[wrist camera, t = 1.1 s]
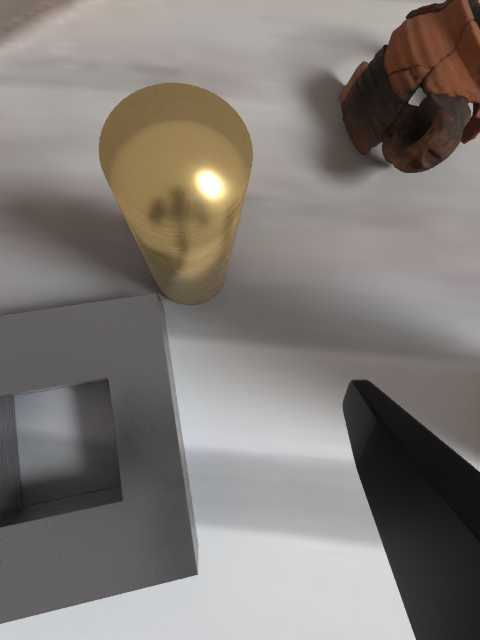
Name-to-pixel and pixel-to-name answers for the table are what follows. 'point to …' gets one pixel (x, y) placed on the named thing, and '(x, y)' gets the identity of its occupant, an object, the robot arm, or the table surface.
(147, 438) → the jig plate
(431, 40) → the pottery mug
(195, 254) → the brass cylinder
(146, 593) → the table surface
